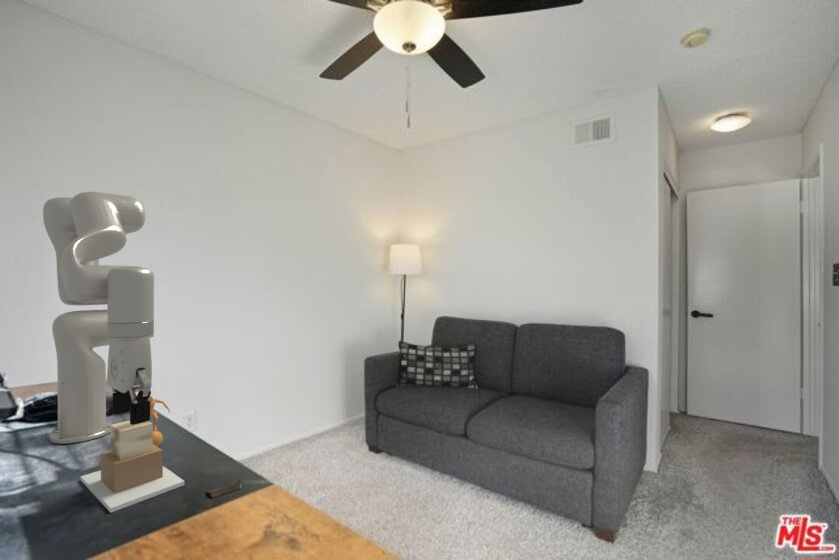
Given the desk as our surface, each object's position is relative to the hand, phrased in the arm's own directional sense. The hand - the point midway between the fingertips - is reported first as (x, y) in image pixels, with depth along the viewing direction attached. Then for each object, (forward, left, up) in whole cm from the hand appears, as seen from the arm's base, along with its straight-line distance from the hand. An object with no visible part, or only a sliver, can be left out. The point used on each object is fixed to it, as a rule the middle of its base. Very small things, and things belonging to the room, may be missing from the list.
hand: (130, 416), depth 82 cm
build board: (+1, 0, -13) cm, 13 cm away
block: (+18, +10, -14) cm, 24 cm away
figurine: (-15, +9, -13) cm, 22 cm away
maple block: (+1, 0, -7) cm, 7 cm away
